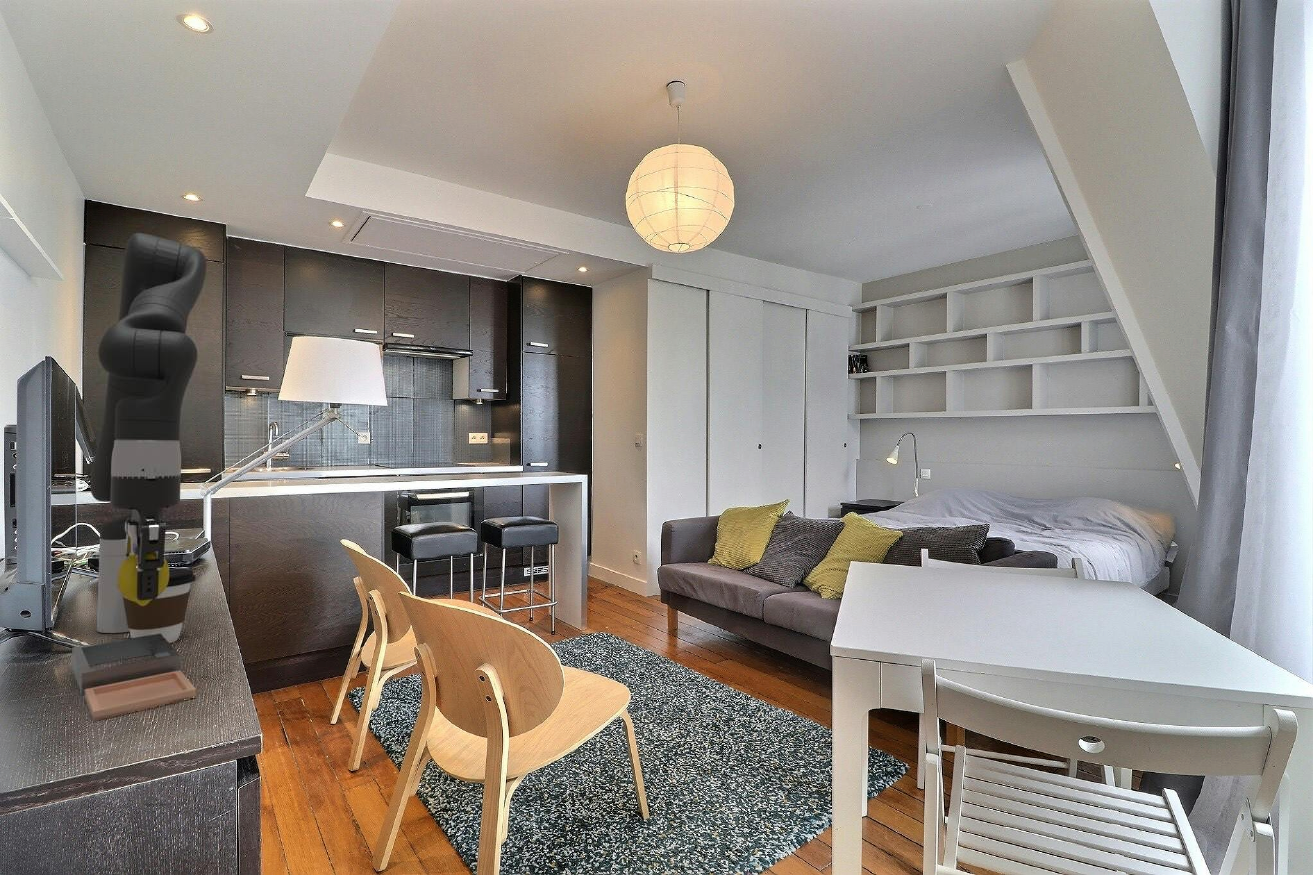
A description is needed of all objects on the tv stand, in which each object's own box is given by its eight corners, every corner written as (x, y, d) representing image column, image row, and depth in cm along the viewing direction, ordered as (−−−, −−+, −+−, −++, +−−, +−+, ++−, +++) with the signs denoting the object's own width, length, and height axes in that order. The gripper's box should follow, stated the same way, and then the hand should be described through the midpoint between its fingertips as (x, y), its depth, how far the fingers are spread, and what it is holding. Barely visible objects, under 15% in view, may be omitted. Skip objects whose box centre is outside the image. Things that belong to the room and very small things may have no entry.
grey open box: (71, 667, 98) (71, 647, 98) (160, 651, 106) (160, 633, 106) (81, 695, 87) (82, 673, 87) (179, 675, 95) (180, 655, 95)
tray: (84, 698, 86) (84, 689, 86) (180, 678, 94) (180, 670, 94) (93, 721, 79) (93, 711, 79) (195, 697, 87) (196, 689, 87)
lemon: (139, 612, 84) (141, 551, 84) (105, 609, 85) (107, 550, 85) (178, 602, 89) (180, 545, 89) (146, 600, 90) (148, 544, 90)
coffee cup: (184, 647, 108) (185, 577, 109) (104, 654, 104) (106, 581, 105) (202, 630, 119) (203, 566, 119) (130, 636, 114) (132, 570, 115)
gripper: (104, 472, 89) (101, 591, 89) (118, 475, 80) (114, 609, 79) (170, 471, 95) (167, 583, 95) (191, 474, 85) (188, 600, 85)
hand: (143, 594), depth 87 cm, fingers closed on lemon, 5 cm apart
